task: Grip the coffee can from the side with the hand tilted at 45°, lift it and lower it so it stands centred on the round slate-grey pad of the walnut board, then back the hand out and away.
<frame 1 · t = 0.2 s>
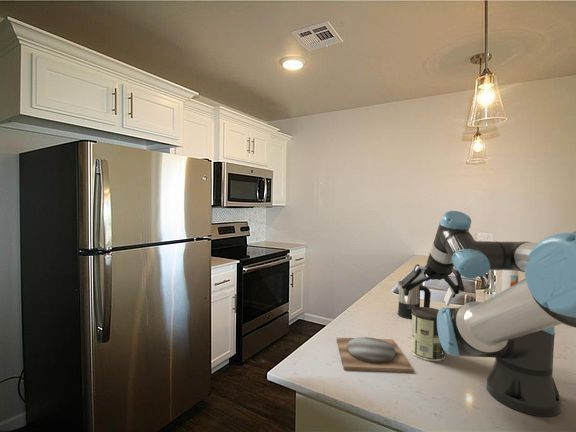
hand: (426, 301, 108), 15 cm above the worktop, tool tilted 35°, fingers open, 13 cm apart
milk bottle: (509, 293, 176), on the worktop
milk frother: (408, 313, 142), on the worktop
mount board: (370, 354, 101), on the worktop
coffee can: (427, 354, 102), on the worktop
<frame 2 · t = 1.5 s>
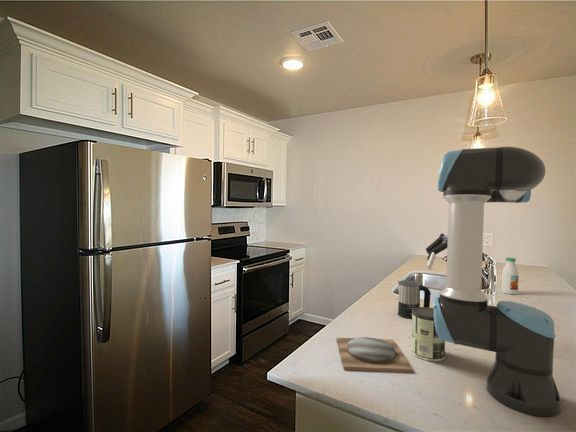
hand: (447, 270, 113), 25 cm above the worktop, tool tilted 45°, fingers open, 13 cm apart
nothing on the worktop moved.
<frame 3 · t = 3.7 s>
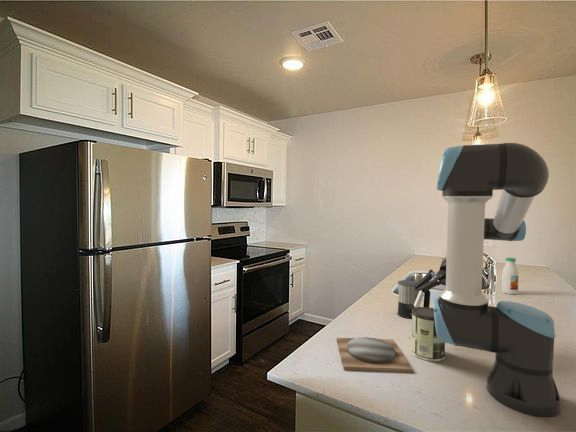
hand: (435, 312, 106), 12 cm above the worktop, tool tilted 45°, fingers open, 13 cm apart
nothing on the worktop moved.
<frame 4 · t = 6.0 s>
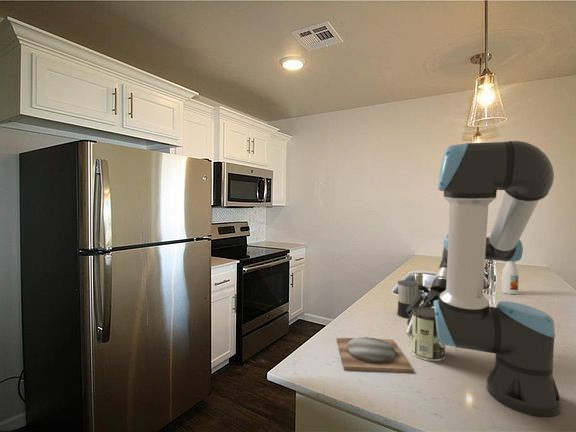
hand: (423, 340, 100), 5 cm above the worktop, tool tilted 45°, fingers closed on coffee can, 10 cm apart
coffee can: (427, 354, 102), on the worktop, touching gripper
everything else where it was.
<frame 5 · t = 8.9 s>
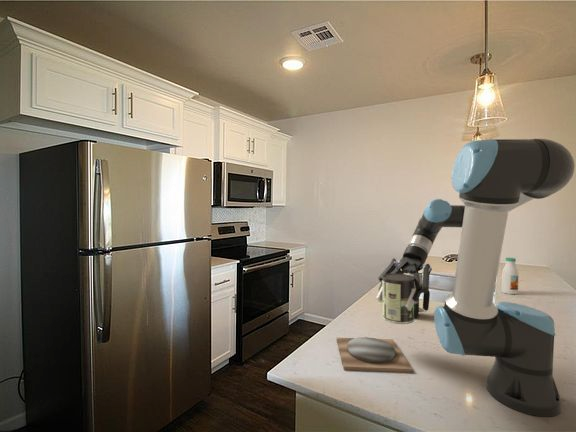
hand: (392, 304, 102), 16 cm above the worktop, tool tilted 45°, fingers closed on coffee can, 10 cm apart
coffee can: (397, 318, 104), point 11 cm above the worktop, touching gripper
everything else where it was.
when the fingers open (9 cm above the worktop, at t = 11.9 s): coffee can drops 1 cm, resting on mount board.
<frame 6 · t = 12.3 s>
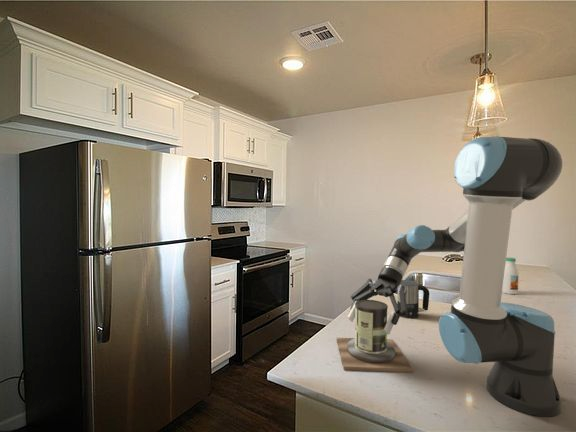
hand: (367, 325, 99), 10 cm above the worktop, tool tilted 45°, fingers open, 13 cm apart
coffee can: (370, 347, 101), point 2 cm above the worktop, touching mount board
everything else where it was.
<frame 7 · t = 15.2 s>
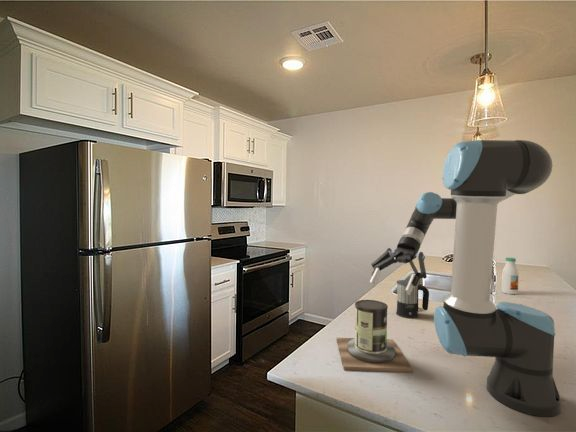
hand: (388, 288, 107), 20 cm above the worktop, tool tilted 45°, fingers open, 13 cm apart
nothing on the worktop moved.
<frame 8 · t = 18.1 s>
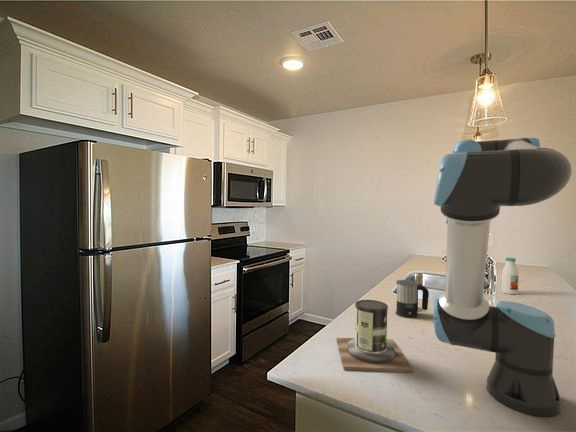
hand: (462, 245, 110), 35 cm above the worktop, tool pointing down, fingers open, 13 cm apart
at the end: coffee can 0.2 cm off-centre on the mount board, point 2.3 cm above the mount board's base; coffee can tilted 0°; the gripper is holding nothing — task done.
